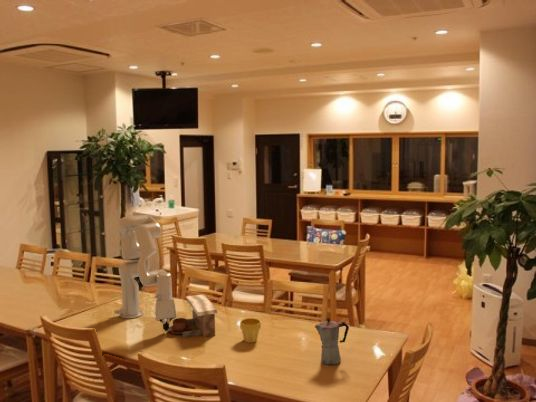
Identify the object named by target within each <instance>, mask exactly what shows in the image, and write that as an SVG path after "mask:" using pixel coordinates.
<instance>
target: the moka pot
mask: <svg viewBox="0 0 536 402" xmlns="http://www.w3.org/2000/svg"><path fill="white" fill-rule="evenodd" d="M342 327H345V331H344V334H343V338H342V340H339V337H340V336H339V335H340V334H339V333H340V328H342ZM314 328H315V329H316V330H317V333H318V335H319V338H320V342H321V355H320V357H321V359H320V362H321V363H323V364H324V365H326V366H327V365H329V366H333V365H337V364H340V363H341V360H342V358H341V353H340V349H339V343H340V344H341V343H342V344H343V343H345V342H346V339H347V336H348V332H349V329H350V327H349V325H348V324H347V322H345V321H342V322H336V321H333V320H332V321H331V319H330V318H326V321H321V322H319V323H318V324H315V326H314Z"/></svg>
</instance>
